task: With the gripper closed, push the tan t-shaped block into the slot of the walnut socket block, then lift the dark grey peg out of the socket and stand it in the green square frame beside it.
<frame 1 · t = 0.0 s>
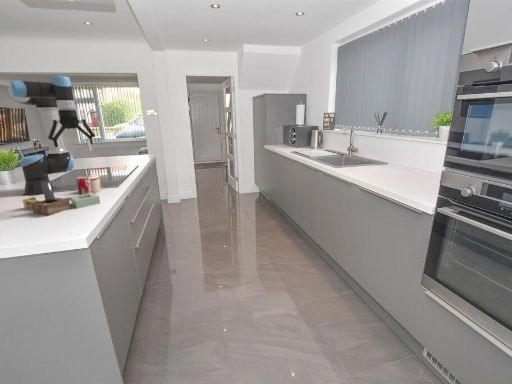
hand: (75, 152, 141), 28 cm above the counter, tool pointing down, fingers open, 13 cm apart
tan t-shaped block: (34, 203, 141), point 3 cm above the counter, slide at 0.0 cm
green square frame: (86, 203, 148), on the counter
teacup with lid: (93, 191, 173), on the counter
dark grey peg: (49, 196, 135), in the socket block
socket block: (52, 210, 138), on the counter
soda can: (86, 197, 160), on the counter
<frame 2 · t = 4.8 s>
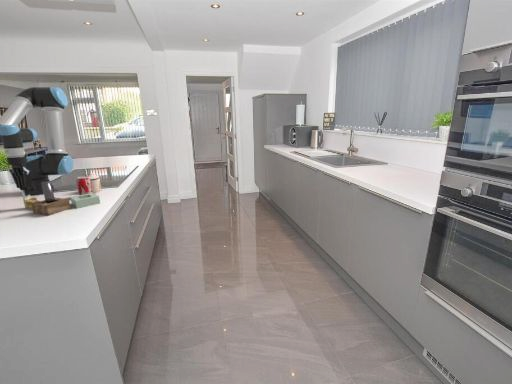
hand: (27, 201, 142), 4 cm above the counter, tool pointing down, fingers closed
tan t-shaped block: (35, 203, 141), point 3 cm above the counter, slide at 0.6 cm, touching gripper
everything else where it was.
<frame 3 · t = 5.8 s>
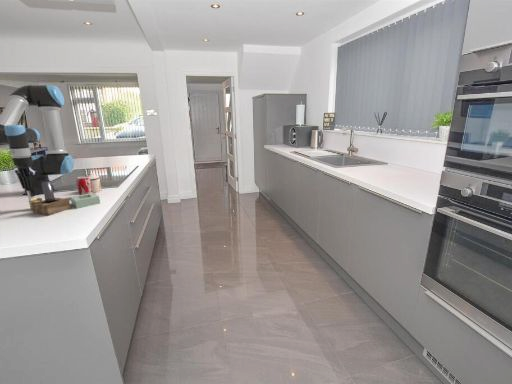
hand: (33, 202, 141), 3 cm above the counter, tool pointing down, fingers closed
tan t-shaped block: (40, 204, 139), point 3 cm above the counter, slide at 4.7 cm, touching gripper
everything else where it was.
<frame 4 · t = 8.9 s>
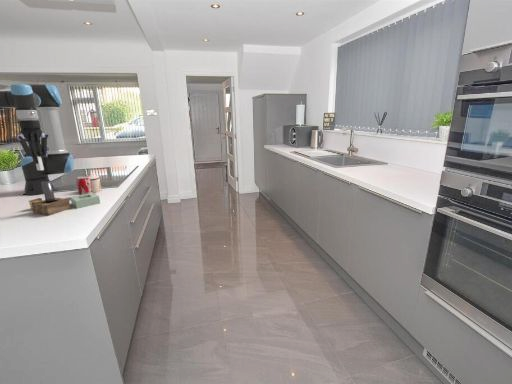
hand: (40, 170, 132), 21 cm above the counter, tool pointing down, fingers closed
tan t-shaped block: (40, 204, 139), point 3 cm above the counter, slide at 4.8 cm
everything else where it was.
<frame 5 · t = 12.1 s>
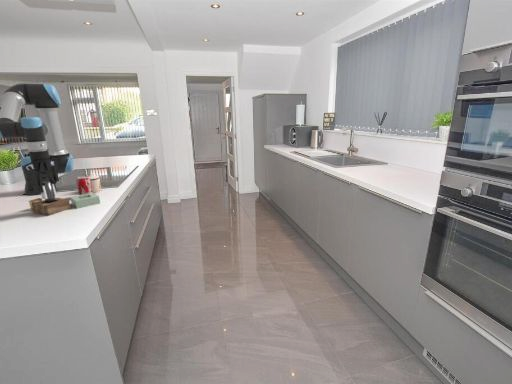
hand: (49, 197, 136), 7 cm above the counter, tool pointing down, fingers closed on dark grey peg, 4 cm apart
dark grey peg: (49, 196, 135), in the socket block, touching gripper
everything else where it was.
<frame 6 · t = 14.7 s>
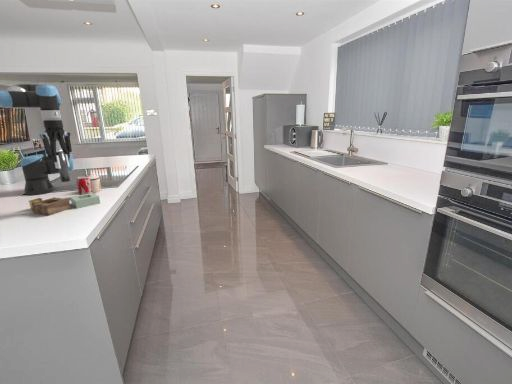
hand: (62, 167, 137), 21 cm above the counter, tool pointing down, fingers closed on dark grey peg, 4 cm apart
dark grey peg: (62, 166, 137), point 22 cm above the counter, touching gripper
everything else where it was.
when the fingers open (9 cm above the counter, at t = 17.7 s): dark grey peg drops 2 cm, resting in green square frame.
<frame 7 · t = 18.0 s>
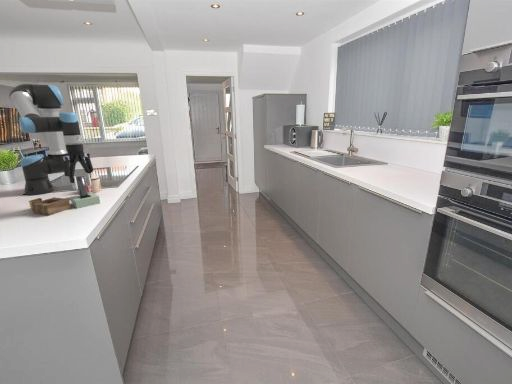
hand: (82, 186, 145), 10 cm above the counter, tool pointing down, fingers open, 7 cm apart
dark grey peg: (83, 190, 146), in the green square frame
everything else where it was.
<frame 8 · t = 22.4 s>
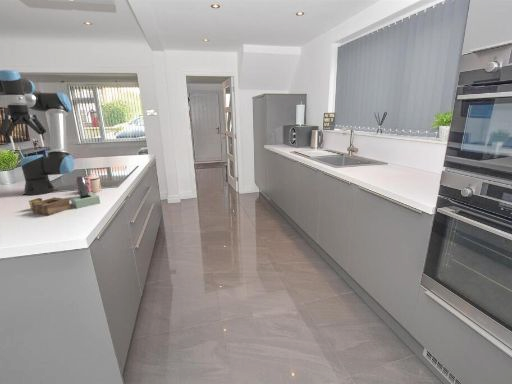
hand: (27, 148, 139), 31 cm above the counter, tool pointing down, fingers open, 13 cm apart
nothing on the counter moved.
at the end: tan t-shaped block slide at 4.8 cm; dark grey peg 0.0 cm off-centre on the green square frame, point 7.5 cm above the green square frame's base; dark grey peg tilted 0° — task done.
